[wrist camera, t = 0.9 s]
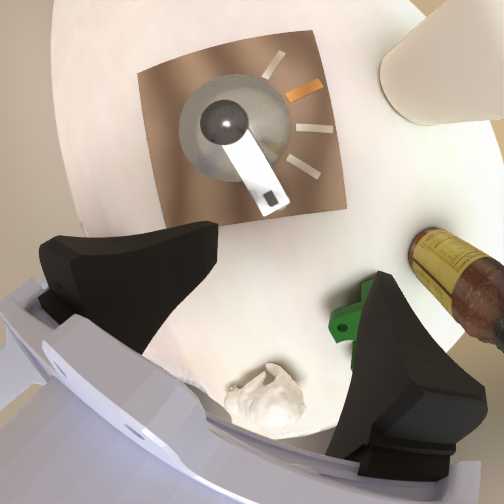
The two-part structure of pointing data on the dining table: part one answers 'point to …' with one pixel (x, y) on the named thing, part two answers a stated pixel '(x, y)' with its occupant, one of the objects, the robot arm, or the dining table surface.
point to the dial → (238, 135)
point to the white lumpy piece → (268, 399)
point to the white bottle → (449, 65)
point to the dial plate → (290, 163)
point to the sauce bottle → (462, 282)
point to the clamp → (349, 319)
